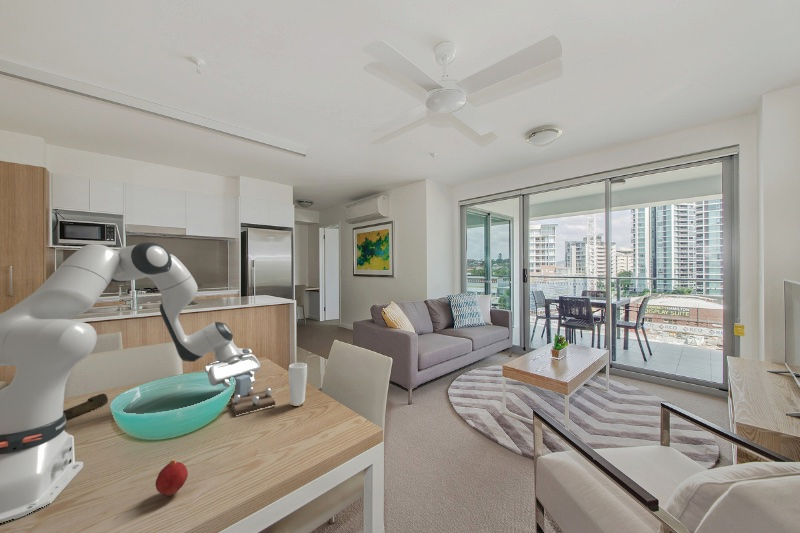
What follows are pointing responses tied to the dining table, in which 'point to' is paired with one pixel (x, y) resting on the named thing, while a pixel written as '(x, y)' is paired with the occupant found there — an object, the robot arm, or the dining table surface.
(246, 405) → the peg board
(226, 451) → the dining table surface
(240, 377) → the block
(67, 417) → the rusty brown artillery shell
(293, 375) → the drinking glass
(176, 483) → the onion
